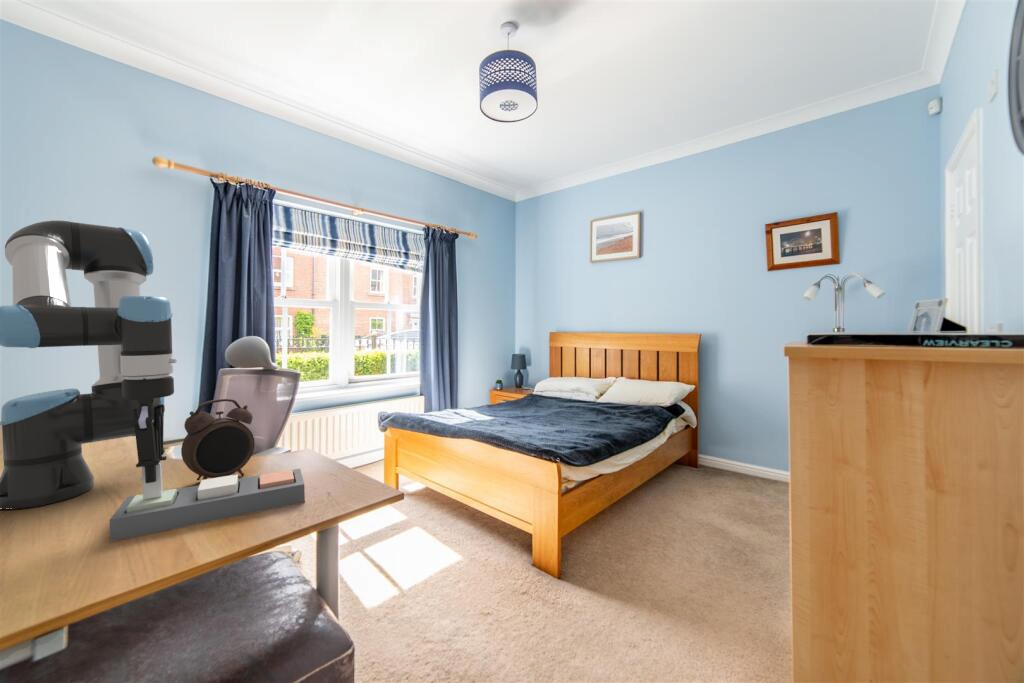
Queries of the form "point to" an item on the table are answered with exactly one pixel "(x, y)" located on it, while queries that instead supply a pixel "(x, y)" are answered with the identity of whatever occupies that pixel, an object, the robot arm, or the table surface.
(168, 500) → the key sage
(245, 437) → the alarm clock
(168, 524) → the keypad
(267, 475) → the key terracotta
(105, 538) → the table surface
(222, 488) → the key offwhite
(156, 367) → the robot arm
